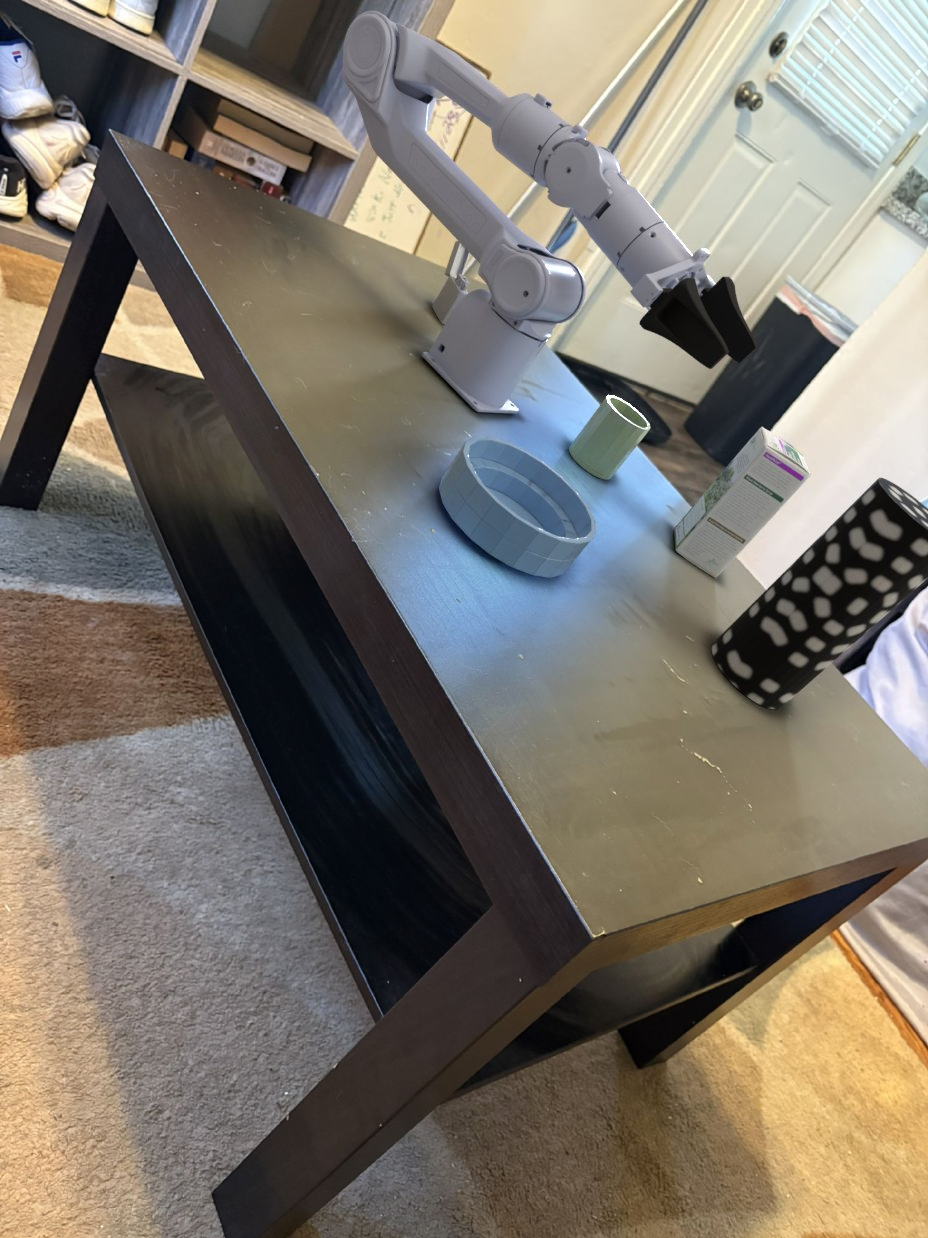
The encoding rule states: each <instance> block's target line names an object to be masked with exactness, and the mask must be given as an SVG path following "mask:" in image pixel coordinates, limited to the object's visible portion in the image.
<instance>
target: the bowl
mask: <svg viewBox="0 0 928 1238" xmlns="http://www.w3.org/2000/svg"><path fill="white" fill-rule="evenodd" d="M438 490H439V494H440V498H441V502H442V504H443V506H444V508H445V510H446V511H447V513H448V514H449V515H448V516H450V518H451V520H453V522H454V523H455V524H456V525H457V526H458V527H459V529H461V531H462V532H463V533H464V534H465V535H466V536H467V537H468V538H469V539H470V540H471V541H472V542H474V543H475V544H476V545H477V546H479V547H480V548H481V549H482V550H484V551H485V552H486V553H487V554H489V555H490V556H492V557H493V558H495V559H496V560H498V561H500V562H501V563H503V564H505V565H507V566H509V567H510V568H513V569H515V570H518V571H519V572H523V573H525V574H528V575H531V576H535V577H540V578H541V577H543V578H550V579H551V578H555V577H559V576H563V575H564V574H565V573H566V572H567V570H568V569H569V568H570V567H571V566H572V565H573V563H574V562H575V561H576V560H577V558H578V557H579V556H580V554H581V553H582V552H583V551H584V550H585V548H586V547H587V546H588V545H589V544H590V543H591V541H592V540H593V539H594V537H595V536H596V535H597V522H596V519H595V518H594V515H593V513H592V511H591V509H590V506H589V505H588V504H587V503H586V501H585V500H584V499H583V497H582V496H581V494H579V492H578V491H577V490H576V489H575V488H574V487H573V486H572V485H571V484H570V482H568V481H567V480H566V479H565V478H564V477H563V476H562V475H561V474H560V473H558V472H557V471H556V470H555V469H554V468H552V467H551V466H549V465H548V463H546V462H544V461H543V460H542V459H540V458H538V457H536V456H535V455H534V454H532V453H530V452H528V451H527V450H525V449H523V448H522V447H519V446H518V445H515V444H512V443H511V442H508V441H506V440H502V439H499V438H496V437H492V436H473V437H472V438H469V439H468V440H466V441H464V443H463V445H462V447H461V448H460V450H459V451H458V453H457V454H456V455H455V457H454V459H453V460H452V461H451V463H450V465H449V466H448V467H447V469H446V471H445V472H444V474H443V475H442V477H441V479H440V483H439V486H438Z"/></svg>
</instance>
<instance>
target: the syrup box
mask: <svg viewBox="0 0 928 1238" xmlns="http://www.w3.org/2000/svg"><path fill="white" fill-rule="evenodd" d="M811 476H812V473H811V472H810V469H809V467H808V464H807V462H806V460H805V458H804V454H803V453H801V452H800V451H799V449H797V448H795V446H793V445H792V444H791V443H789V442H788V441H786V440H785V439H784V438H782V437H781V436H779V435H777V434H775V433H774V432H772V431H770V430H768V429H766V428H765V427H764V426H761V427H759V428H758V430H757V431H756V432H755V433H754V435H753V436H752V437H751V438H750V439H749V440H748V441H747V442H746V444H745V445H744V446H743V447H742V448H741V449H740V450H739V452H738V453H737V454H736V455H735V456H734V458H733V459H732V460H731V461H730V462H729V463H728V465H726V467H725V468H724V469H723V470H722V472H721V473H720V474H719V475H718V476H717V478H715V480H714V481H713V482H712V483H711V484H710V486H708V488H707V489H706V490H705V491H704V493H702V495H701V496H700V497H699V498H698V500H696V501H695V502H694V504H693V505H692V507H691V508H690V509H689V510H688V512H687V513H685V515H684V516H683V517H682V519H680V521H678V523H677V525H675V526H674V528H673V534H674V535H673V536H674V549H675V552H676V553H678V554H679V555H680V556H682V557H683V558H684V559H685V560H686V561H688V562H689V563H690V564H692V565H694V566H696V567H697V568H698V569H700V570H702V571H704V572H705V573H706V574H708V575H710V576H711V577H713V578H714V579H717V578H718V577H719V576H720V575H721V574H722V572H723V571H724V570H725V569H726V568H727V567H728V566H729V565H730V564H731V563H733V561H734V560H735V559H736V558H737V557H738V556H739V554H740V553H741V552H742V551H743V550H744V549H745V548H746V547H747V546H748V544H750V543H751V541H752V540H754V538H755V537H756V536H757V535H758V534H759V533H760V532H761V530H763V528H765V526H766V525H767V524H768V523H769V522H770V521H771V519H772V518H773V517H774V516H775V515H777V513H778V512H779V511H780V510H781V509H782V507H783V506H784V505H785V504H786V503H787V502H788V501H789V500H790V499H791V498H792V497H793V496H794V494H796V493H797V491H798V490H799V489H800V488H801V487H802V486H803V485H804V484H805V483H806V482H807V480H808V479H809V478H810V477H811Z"/></svg>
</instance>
